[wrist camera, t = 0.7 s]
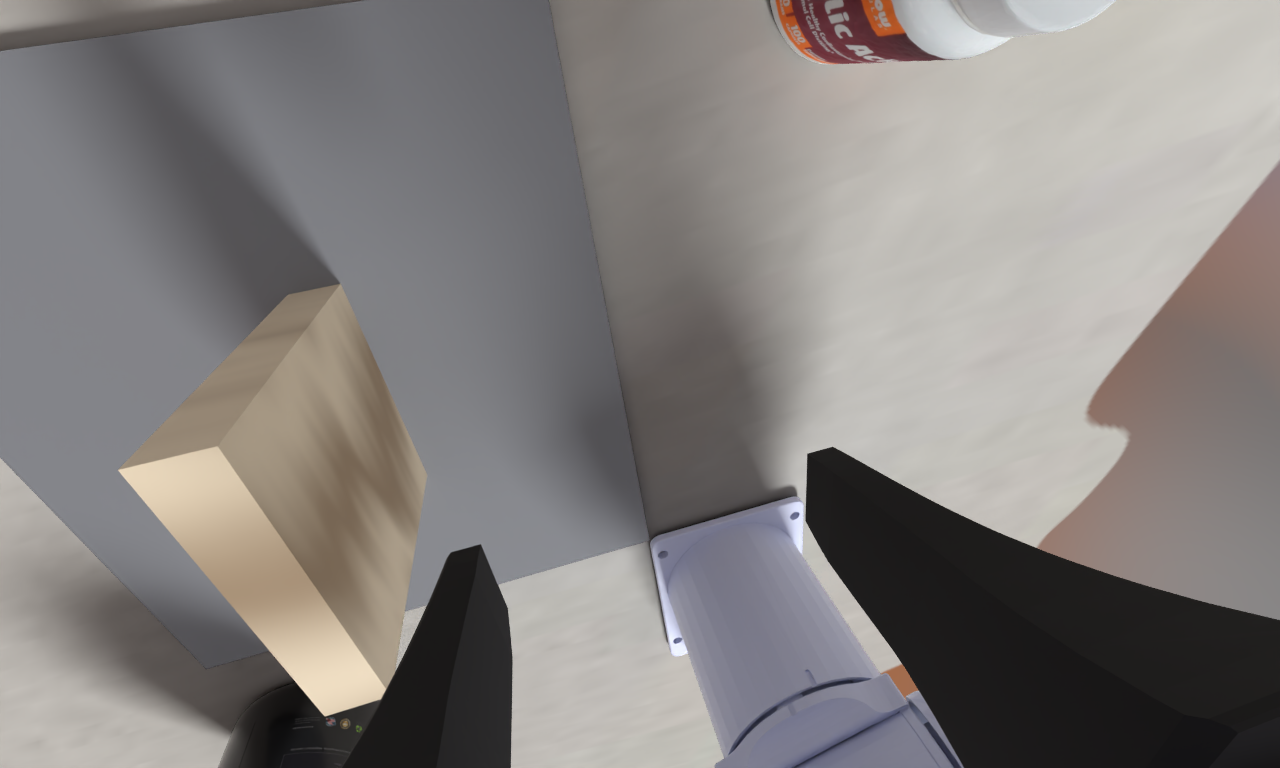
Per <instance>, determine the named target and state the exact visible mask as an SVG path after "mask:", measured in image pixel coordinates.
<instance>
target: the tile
mask: <svg viewBox="0 0 1280 768" xmlns="http://www.w3.org/2000/svg"><path fill="white" fill-rule="evenodd" d="M118 471H119V472H120V473H121V475H122V476H123V477H124V478H125V479H126V481H127V482H128V483H129V484H130V485H131V486H132V488H133V489H134V490H135V491H136V492H137V494H138V495H139V496H140V497H141V498H142V500H143V501H144V502H145V503H146V504H147V506H148V507H149V508H150V509H151V510H152V512H153V513H154V514H155V515H156V516H157V517H158V519H159V520H160V521H161V522H162V523H163V525H164V526H165V527H166V528H167V529H168V531H169V532H170V533H171V534H172V535H173V537H174V538H175V539H176V540H177V541H178V542H179V544H180V545H181V546H182V547H183V548H184V550H185V551H186V552H187V553H188V554H189V556H190V557H191V558H192V559H193V560H194V562H195V563H196V564H197V565H198V566H199V567H200V569H201V570H202V571H203V572H204V573H205V575H206V576H207V577H208V578H209V579H210V581H211V582H212V583H213V584H214V585H215V587H216V588H217V589H218V590H219V591H220V592H221V594H222V595H223V596H224V597H225V598H226V600H227V601H228V602H229V603H230V604H231V606H232V607H233V608H234V609H235V610H236V612H237V613H238V614H239V615H240V616H241V617H242V619H243V620H244V621H245V622H246V623H247V625H248V626H249V627H250V628H251V629H252V631H253V632H254V633H255V634H256V635H257V637H258V638H259V639H260V640H261V641H262V642H263V644H264V645H265V646H266V647H267V648H268V650H269V651H270V652H271V653H272V654H273V656H274V657H275V658H276V659H277V660H278V662H279V663H280V664H281V665H282V666H283V667H284V669H285V670H286V671H287V672H288V673H289V675H290V676H291V677H292V678H293V679H294V681H295V682H296V683H297V684H298V685H299V687H300V688H301V689H302V690H303V691H304V692H305V694H306V695H307V696H308V697H309V698H310V700H311V701H312V702H313V703H314V704H315V706H316V707H317V708H318V709H319V710H320V712H321V713H322V714H323V715H324V716H328V715H332V714H335V713H338V712H341V711H344V710H348V709H351V708H354V707H357V706H361V705H364V704H367V703H370V702H373V701H377V700H380V699H381V698H382V696H383V694H384V692H385V691H386V689H387V687H388V685H389V683H390V681H391V679H392V677H393V675H394V674H395V668H396V662H397V656H398V650H399V643H400V637H401V631H402V625H403V619H404V613H405V607H406V601H407V595H408V589H409V583H410V577H411V570H412V564H413V558H414V552H415V546H416V540H417V534H418V528H419V522H420V516H421V510H422V504H423V498H424V491H425V485H426V479H427V473H426V471H425V469H424V467H423V464H422V462H421V460H420V458H419V456H418V453H417V451H416V449H415V447H414V445H413V442H412V440H411V438H410V436H409V434H408V431H407V429H406V427H405V425H404V422H403V420H402V418H401V416H400V414H399V411H398V409H397V407H396V405H395V403H394V400H393V398H392V396H391V394H390V392H389V389H388V387H387V385H386V383H385V381H384V378H383V376H382V374H381V372H380V370H379V367H378V365H377V363H376V361H375V358H374V356H373V354H372V352H371V350H370V347H369V345H368V343H367V341H366V339H365V336H364V334H363V332H362V330H361V328H360V325H359V323H358V321H357V319H356V317H355V314H354V312H353V310H352V308H351V305H350V303H349V301H348V299H347V297H346V294H345V292H344V290H343V288H342V286H341V284H337V285H332V286H327V287H322V288H318V289H313V290H308V291H303V292H298V293H293V294H289V295H287V296H286V297H285V298H284V299H283V300H282V301H281V302H280V303H279V304H278V305H277V306H276V307H275V308H274V309H273V310H272V311H271V313H270V314H269V315H268V316H267V317H266V318H265V319H264V320H263V321H262V322H261V323H260V324H259V325H258V326H257V327H256V328H255V329H254V330H253V331H252V332H251V333H250V334H249V335H248V336H247V337H246V338H245V339H244V340H243V341H242V342H241V343H240V344H239V346H238V347H237V348H236V349H235V350H234V351H233V352H232V353H231V354H230V355H229V356H228V357H227V358H226V359H225V360H224V361H223V362H222V363H221V364H220V365H219V366H218V367H217V368H216V369H215V370H214V371H213V372H212V373H211V374H210V375H209V376H208V377H207V379H206V380H205V381H204V382H203V383H202V384H201V385H200V386H199V387H198V388H197V389H196V390H195V391H194V392H193V393H192V394H191V395H190V396H189V397H188V398H187V399H186V400H185V401H184V402H183V403H182V404H181V405H180V406H179V407H178V408H177V409H176V410H175V412H174V413H173V414H172V415H171V416H170V417H169V418H168V419H167V420H166V421H165V422H164V423H163V424H162V425H161V426H160V427H159V428H158V429H157V430H156V431H155V432H154V433H153V434H152V435H151V436H150V437H149V438H148V439H147V440H146V441H145V442H144V444H143V445H142V446H141V447H140V448H139V449H138V450H137V451H136V452H135V453H134V454H133V455H132V456H131V457H130V458H129V459H128V460H127V461H126V462H125V463H124V464H123V465H122V466H121V467H120V468H119V469H118Z"/></svg>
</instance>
